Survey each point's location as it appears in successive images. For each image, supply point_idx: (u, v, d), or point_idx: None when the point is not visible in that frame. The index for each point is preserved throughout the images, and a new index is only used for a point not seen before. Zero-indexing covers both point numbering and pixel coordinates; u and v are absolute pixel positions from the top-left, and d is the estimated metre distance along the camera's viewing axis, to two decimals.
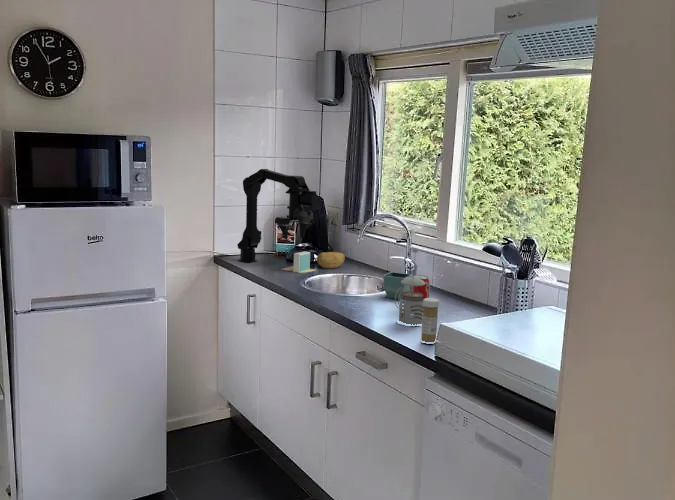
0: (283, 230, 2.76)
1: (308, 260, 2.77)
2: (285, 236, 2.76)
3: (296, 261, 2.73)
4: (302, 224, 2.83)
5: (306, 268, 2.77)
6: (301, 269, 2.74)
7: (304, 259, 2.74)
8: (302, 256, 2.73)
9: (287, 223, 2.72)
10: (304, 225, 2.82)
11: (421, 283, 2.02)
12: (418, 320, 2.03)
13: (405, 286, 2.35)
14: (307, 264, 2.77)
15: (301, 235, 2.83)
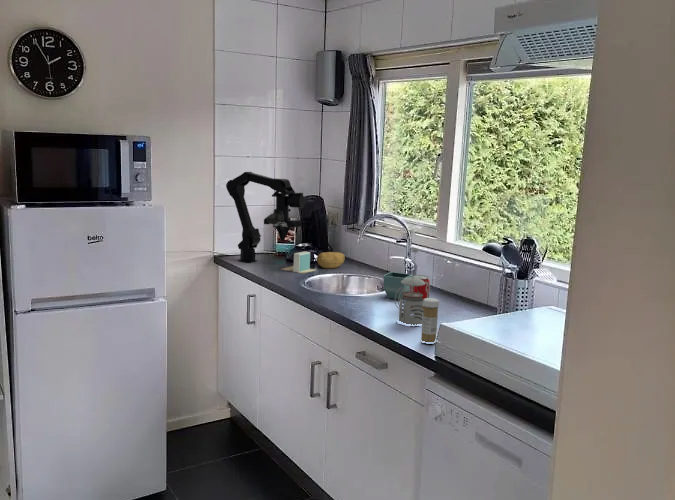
0: None
1: (308, 260, 2.77)
2: None
3: (296, 261, 2.73)
4: None
5: (306, 268, 2.77)
6: (301, 269, 2.74)
7: (304, 259, 2.74)
8: (302, 256, 2.73)
9: (266, 223, 2.87)
10: None
11: (421, 283, 2.02)
12: (418, 320, 2.03)
13: (405, 286, 2.35)
14: (307, 264, 2.77)
15: None
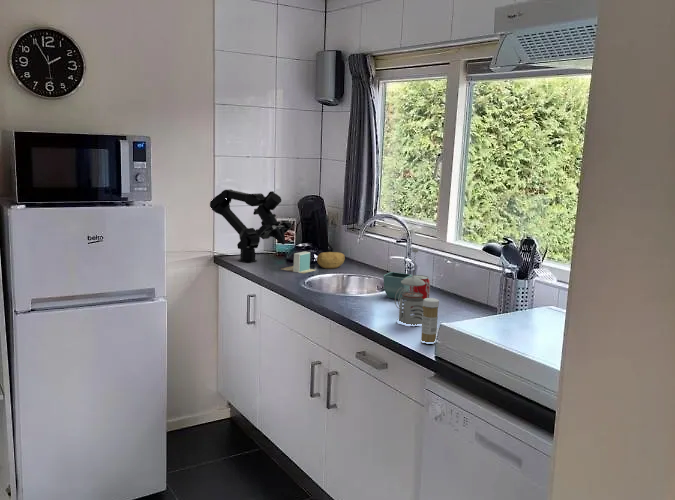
0: None
1: (308, 260, 2.77)
2: None
3: (296, 261, 2.73)
4: None
5: (306, 268, 2.77)
6: (301, 269, 2.74)
7: (304, 259, 2.74)
8: (302, 256, 2.73)
9: None
10: None
11: (421, 283, 2.02)
12: (418, 320, 2.03)
13: (405, 286, 2.35)
14: (307, 264, 2.77)
15: None
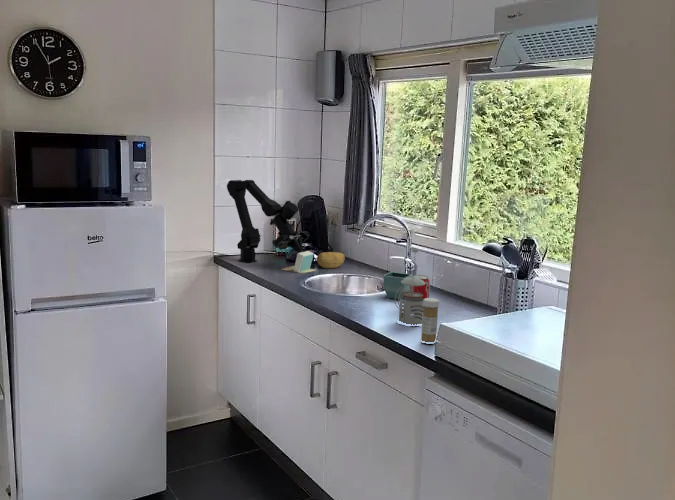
0: None
1: (310, 261, 2.77)
2: None
3: (298, 261, 2.72)
4: None
5: (306, 268, 2.76)
6: (302, 269, 2.73)
7: (306, 260, 2.74)
8: (305, 257, 2.72)
9: None
10: None
11: (421, 283, 2.02)
12: (418, 320, 2.03)
13: (405, 286, 2.35)
14: (308, 265, 2.77)
15: None
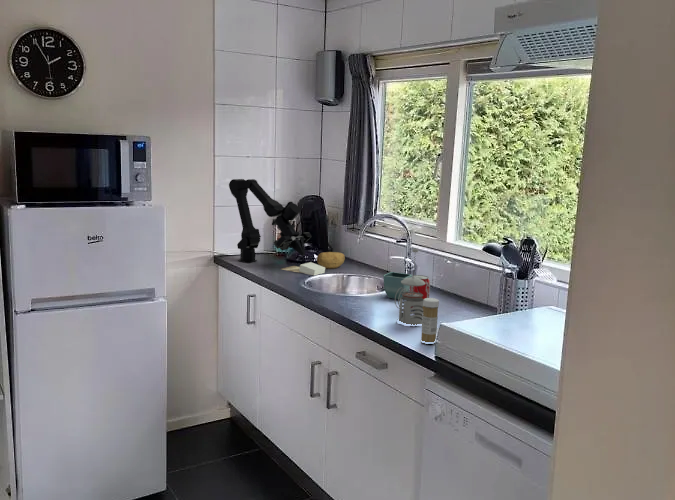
0: None
1: None
2: None
3: (308, 270, 2.70)
4: None
5: None
6: None
7: None
8: None
9: None
10: None
11: (421, 283, 2.02)
12: (418, 320, 2.03)
13: (405, 286, 2.35)
14: None
15: None
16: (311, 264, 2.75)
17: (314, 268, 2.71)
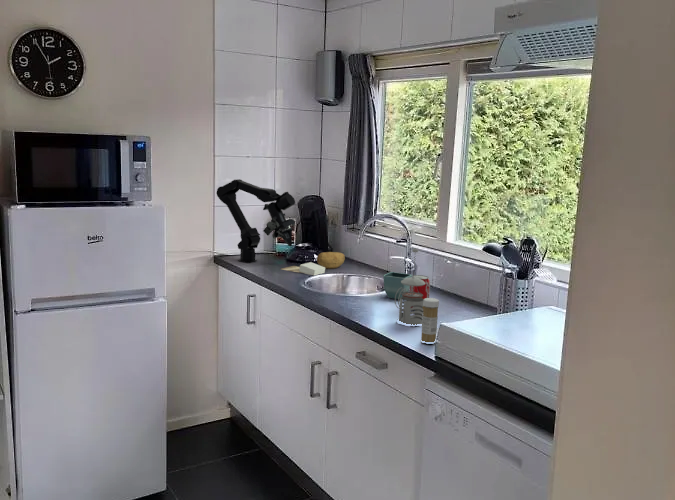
0: None
1: None
2: None
3: (308, 270, 2.70)
4: None
5: None
6: None
7: None
8: None
9: (274, 236, 2.88)
10: None
11: (421, 283, 2.02)
12: (418, 320, 2.03)
13: (405, 286, 2.35)
14: None
15: None
16: (311, 264, 2.75)
17: (314, 268, 2.71)
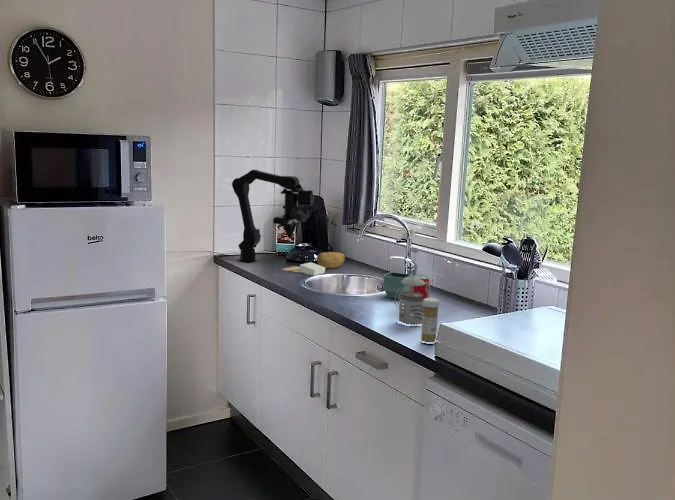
0: (286, 229, 2.87)
1: None
2: (289, 234, 2.87)
3: (308, 270, 2.70)
4: None
5: None
6: None
7: None
8: None
9: (286, 222, 2.79)
10: (292, 225, 2.87)
11: (421, 283, 2.02)
12: (418, 320, 2.03)
13: (405, 286, 2.35)
14: None
15: None
16: (311, 264, 2.75)
17: (314, 268, 2.71)
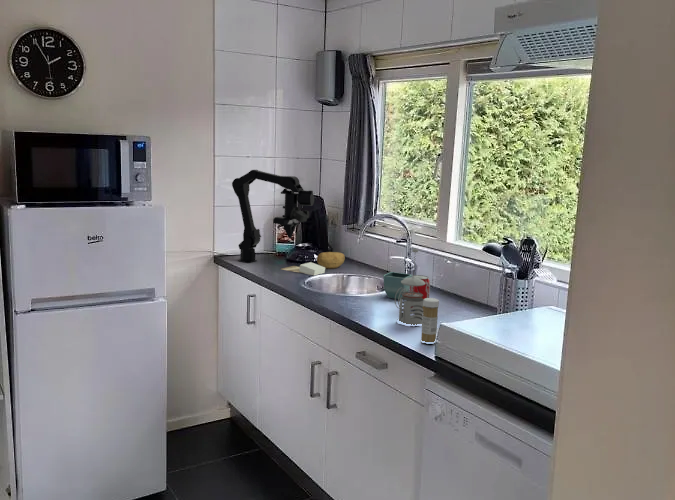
0: (286, 229, 2.87)
1: None
2: (289, 234, 2.87)
3: (308, 270, 2.70)
4: None
5: None
6: None
7: None
8: None
9: (286, 222, 2.79)
10: None
11: (421, 283, 2.02)
12: (418, 320, 2.03)
13: (405, 286, 2.35)
14: None
15: None
16: (311, 264, 2.75)
17: (314, 268, 2.71)
